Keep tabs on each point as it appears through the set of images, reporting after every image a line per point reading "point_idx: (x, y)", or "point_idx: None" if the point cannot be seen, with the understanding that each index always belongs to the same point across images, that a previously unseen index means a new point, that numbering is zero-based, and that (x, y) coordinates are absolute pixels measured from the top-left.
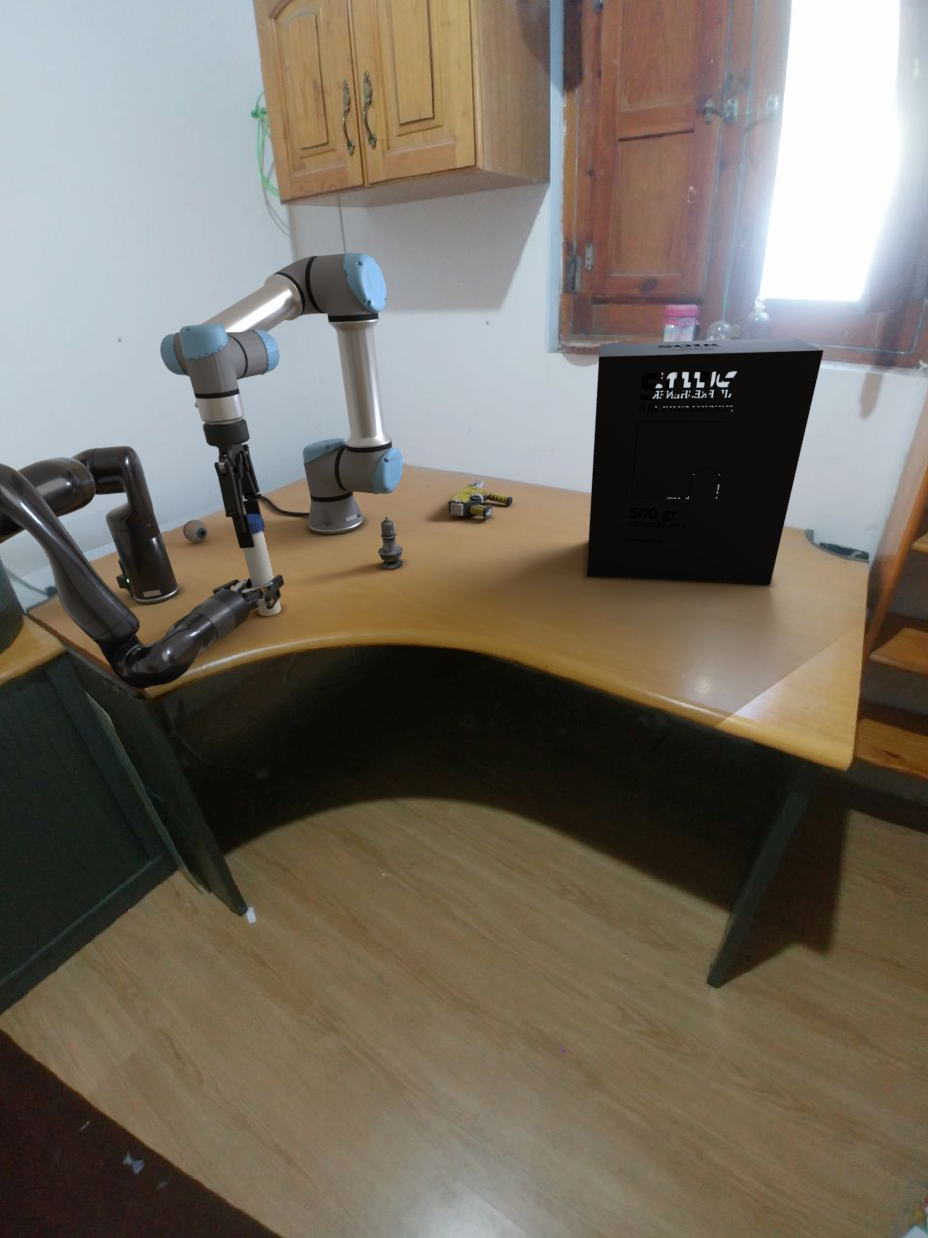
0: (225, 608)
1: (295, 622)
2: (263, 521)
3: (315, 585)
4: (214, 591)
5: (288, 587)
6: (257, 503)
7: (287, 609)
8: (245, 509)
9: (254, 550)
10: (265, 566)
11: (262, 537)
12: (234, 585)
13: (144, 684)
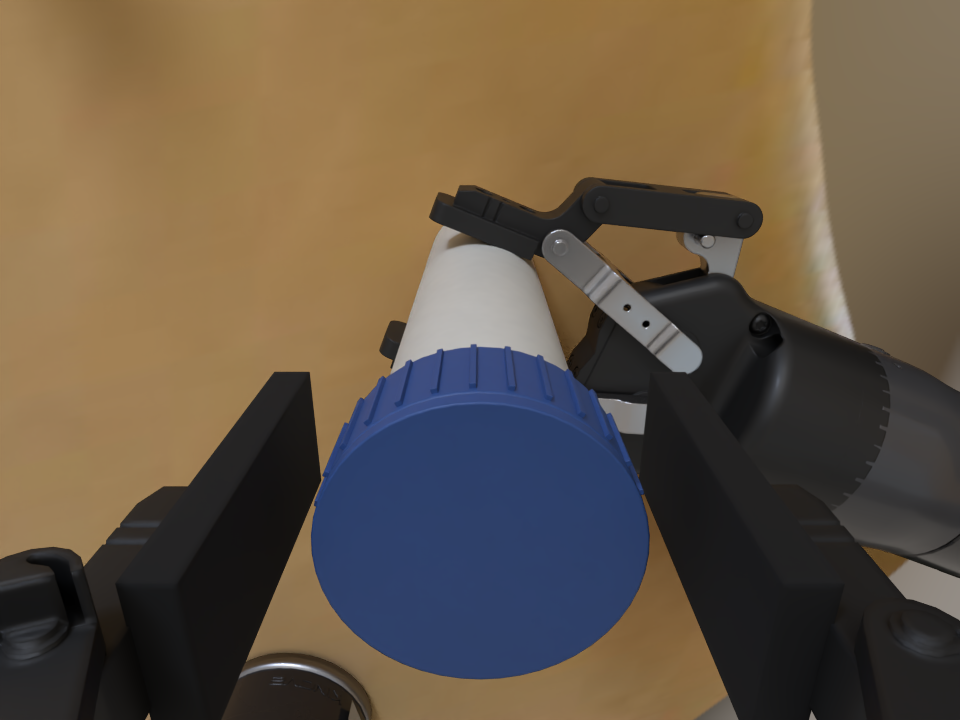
0: (906, 401)
1: (615, 107)
2: (441, 374)
3: (215, 72)
4: None
5: (238, 222)
6: (190, 554)
7: (475, 177)
8: (250, 645)
9: None
10: (531, 287)
11: (507, 343)
12: None
13: None
